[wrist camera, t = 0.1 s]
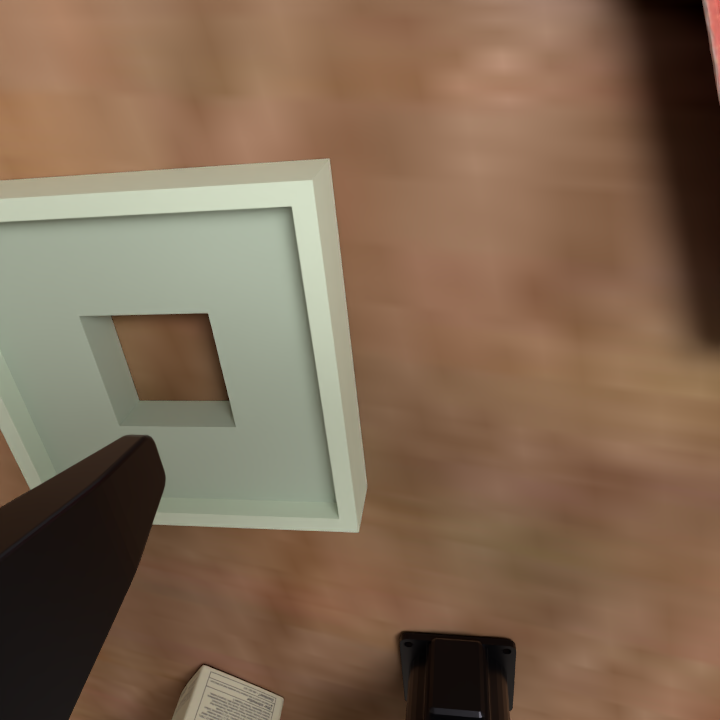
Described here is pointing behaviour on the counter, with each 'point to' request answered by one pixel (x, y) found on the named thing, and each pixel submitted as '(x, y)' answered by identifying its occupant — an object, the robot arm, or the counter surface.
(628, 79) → the counter surface
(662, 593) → the counter surface
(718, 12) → the plant saucer
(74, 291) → the box
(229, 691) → the skincare box
